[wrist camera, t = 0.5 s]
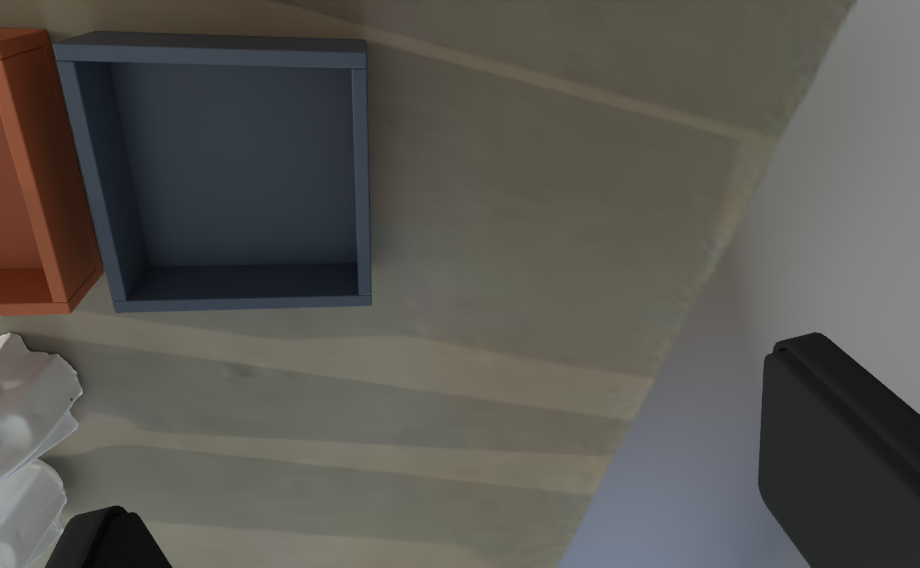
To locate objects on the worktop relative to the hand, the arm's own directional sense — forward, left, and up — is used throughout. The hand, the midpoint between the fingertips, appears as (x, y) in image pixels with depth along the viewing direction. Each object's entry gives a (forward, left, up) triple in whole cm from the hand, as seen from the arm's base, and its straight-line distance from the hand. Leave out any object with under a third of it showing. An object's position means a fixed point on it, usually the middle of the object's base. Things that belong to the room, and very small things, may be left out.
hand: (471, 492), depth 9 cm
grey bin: (+2, -7, -23) cm, 24 cm away
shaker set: (+17, -19, -24) cm, 35 cm away
